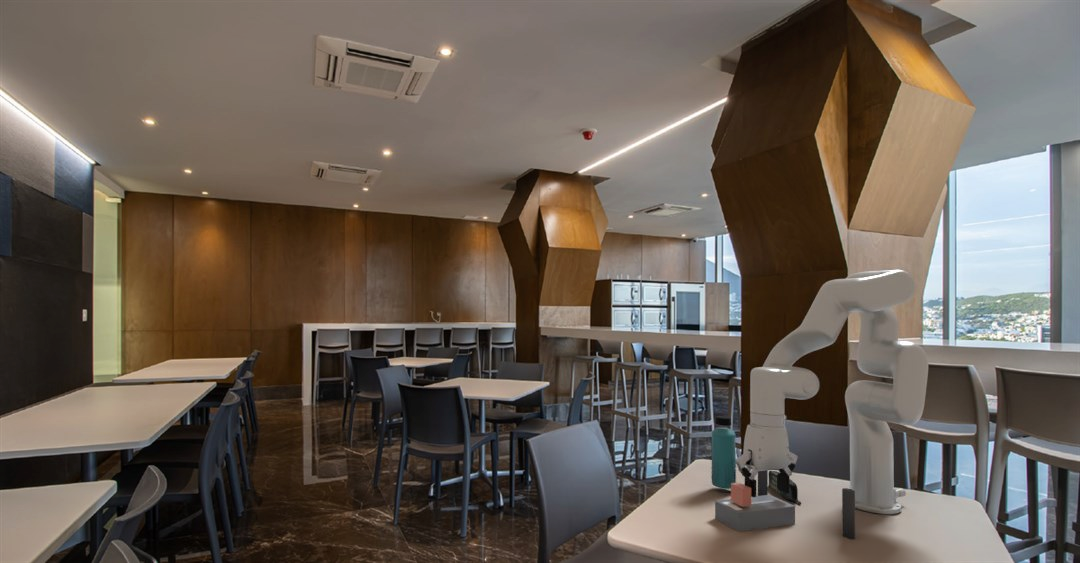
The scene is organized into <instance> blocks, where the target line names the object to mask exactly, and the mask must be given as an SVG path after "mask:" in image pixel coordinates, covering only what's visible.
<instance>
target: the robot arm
mask: <svg viewBox="0 0 1080 563" xmlns="http://www.w3.org/2000/svg"><path fill="white" fill-rule="evenodd" d="M916 288H917V286H916V282H915V279H914V277H913V276H912V274H910V272H907V271H905V270H901V269H890V270H889V269H888V270H886V269H885V270H870V271H861V272H860V271H859V272H854V273H851V274H850V275H848V276H846V278H837V279H831V280H828V281H826V282H825V283H823V284H822V286H821V287H820V289H819V290H818V292H817V294H816V296H815V298H814V300H813V302H812V304H810V305H811V306H810V308H809V309H808V311H807V313H806V315H805V316H804V319H803V320H802V322H801V324H800V325H799V326H798V327H797V328H795V330H793V331H791V332H790V333H789V334H787V335H786V336H785V337H784V338H782V339H781V340H780V341H779V342H778V343H776V344H775V345H774V347H773V348H772V349H771V350H770V352H769V354H768V355H767V358H766V359H765V360H764V363H763V365H762V366H759V367H754V368H752V369H751V371H750V376H749V377H750V380H749V381H750V384H749V386H750V389H749V391H750V392H749V394H750V395H749V399H750V400H749V401H750V402H749V405H750V406H749V407H750V408H749V410H750V411H749V412H750V415H749V416H750V417H749V418H750V419H749V420H750V422H749V424H747V426H746V429H745V432H744V433H745V434H744V440H743V441H744V442H743V451H742V452H743V453H742V454H741V455H740V456H738V457H737V458H736V467H737V468H738V471H739V473H740V474H741V475H742V477H744V485H746V486H748V487H750V488H751V497H756V496H757V479H755V478H756V476H758V471H766V470H768V471H776V470H777V471H778V472H779V473H778V474H777V489H778V490H779V491H782V492H784V493H786V494H788V493H789V479H790V477H791V476H792V475H793V470H794V469H796V463H797V460H798V457H799V456H798V455H797V454H795V453H793V452H792V451H790V444H789V443H790V442H789V437H788V436H789V435H788V430H787V427H786V426H785V425H786V424H785V422H786V420H787V415H786V414H785V400H786V399H792V400H793V399H795V400H804V401H805V400H808V399H811V398H813V397H814V396H816V395H817V393H818V392H819V390H820V380H819V378H818V376H817V374H815V372H813V371H812V370H810V369H807V368H804V367H798V366H793V365H794V364H795V363H796V361H798V360H799V359H800V358H802V357H803V356H805V355H807V354H810V353H812V352H814V351H818V350H821V349H823V348H824V349H825V348H826V347H829V346H831V345H833V344H834V343H835V342H836V341H837V339H838V336H839V335H840V333H841V331H842V328H843V327H844V326H845V323H846V322H847V319H848V317H849V316H850V314H851V313H858V315H859V319H860V327H859V329H860V331H859V337H858V346H857V355H856V365H857V368H858V369H859V371H861V372H862V373H863V374H866V375H869V376H872V377H873V376H874V377H879V378H887V379H893V381H892V383H888V382H882V381H875V380H865V379H864V380H856V381H853V382H852V383H851V384H849V385H848V386H847V388H846V390H845V394H844V401H845V402H844V403H845V407H846V411H847V416H848V421H849V422H848V423H849V424H848V425H849V489H852V490H854V491H855V509H858V510H860V511H865V512H869V513H873V514H874V513H875V514H882V515H893V514H895V515H896V514H898V513H901V511H902V505H901V504H900V503H899V502H897V499H898V498H901V497H902V498H903V497H905V496H906V495H907V493H906V490H905V489H903V488H895V487H894V485H895V482H894V479H895V478H894V477H895V476H894V474H895V473H894V437H893V434H892V431H891V427H890V426H889V424H888V423H891V424H897V425H901V426H912V425H915V424H916V423H918V422H920V419H921V418H922V416H923V413H924V408H925V402H926V394H927V386H928V377H929V376H928V375H929V360H928V357H927V354H926V352H925V349H924V348H922V346H921V345H919V344H917V343H915V342H911V341H904V340H899V330H900V322H899V319H898V318H899V317H898V316H897V314H896V313H895V310H894V309H893V308H894V307H898V306H900V305H903V304H906V303H908V302H909V301H910V300H911V299H912V298H913V297H914V294H915V292H916Z"/></svg>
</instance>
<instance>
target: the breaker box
mask: <svg viewBox="0 0 1080 563" xmlns="http://www.w3.org/2000/svg"><path fill="white" fill-rule="evenodd" d="M714 505H715V506H714V508H715V509H714V518H715V520H718V521H719V522H721V523H722V524H725V525H726V526H728V527H730V528H731V529H733V530H735V531H737V532H746V531H752V530H760V529H767V528H775V527H782V526H789V525H795V524H796V505H793V504H791V503H789V502H787V501H784V500H782V499H780V498H778V497H775V496H773V495H772V494H768V495H763V496H758V495H756V497H751V506H746V507H742V506H740V505H738V504H736V503H734V502H732V501H731V498H730V499H720V500H715V501H714Z"/></svg>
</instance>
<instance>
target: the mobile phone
mask: <svg viewBox="0 0 1080 563" xmlns="http://www.w3.org/2000/svg"><path fill="white" fill-rule="evenodd" d="M778 473H780V472H779V471H778V470H777V471H776V470H768V487H770V488H771V489H772V488H773V489H772V490H773V491H774V492H776V491H777V492H776V493H777V494H779V495H780V496H781V497H782V498H783V499H785V500H787V501H793V502H795V503H796V504H798V505H800V506H801V505H802V502H801V501H800V500H799V499H798V498H799V497H798V496H799V495H798V494H799V493H798V485H797V483H795V482H794V481H793V479H791V478H789V493H788V494H786V493H784V492H782V491H779V490H778V489H777V474H778Z"/></svg>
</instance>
